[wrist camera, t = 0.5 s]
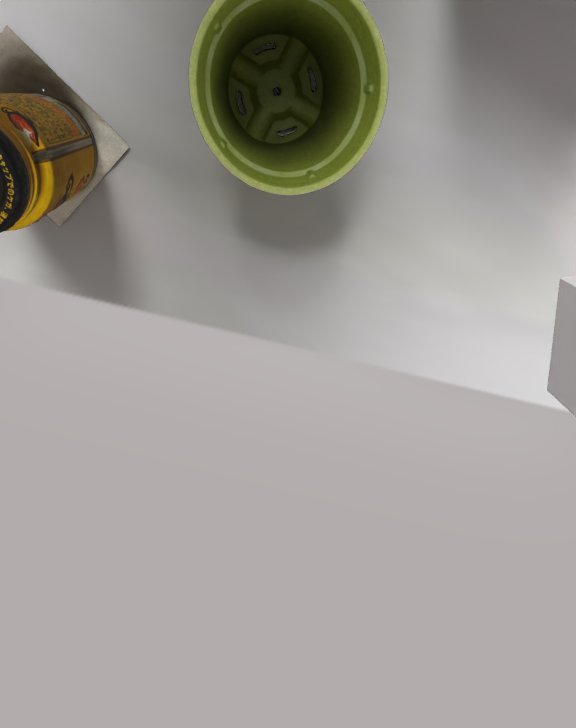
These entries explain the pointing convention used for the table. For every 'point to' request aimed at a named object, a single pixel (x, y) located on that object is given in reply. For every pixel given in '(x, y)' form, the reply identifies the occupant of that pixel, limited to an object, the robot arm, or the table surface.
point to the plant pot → (288, 89)
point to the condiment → (46, 141)
